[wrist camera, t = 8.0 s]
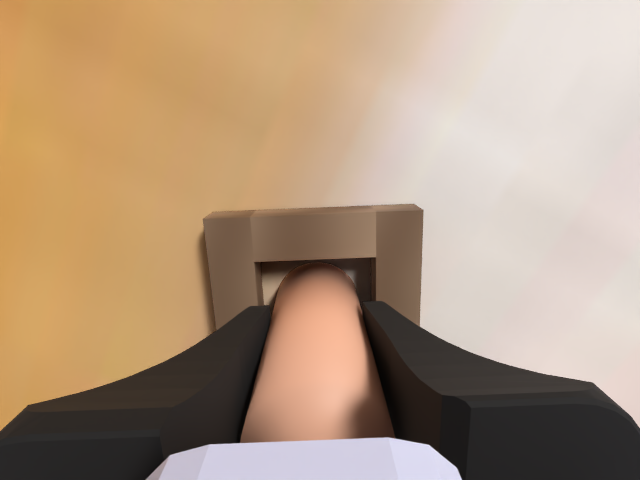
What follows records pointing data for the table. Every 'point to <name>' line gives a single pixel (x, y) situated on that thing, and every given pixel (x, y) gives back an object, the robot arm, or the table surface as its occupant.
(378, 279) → the collar
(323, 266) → the dowel
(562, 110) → the table surface
